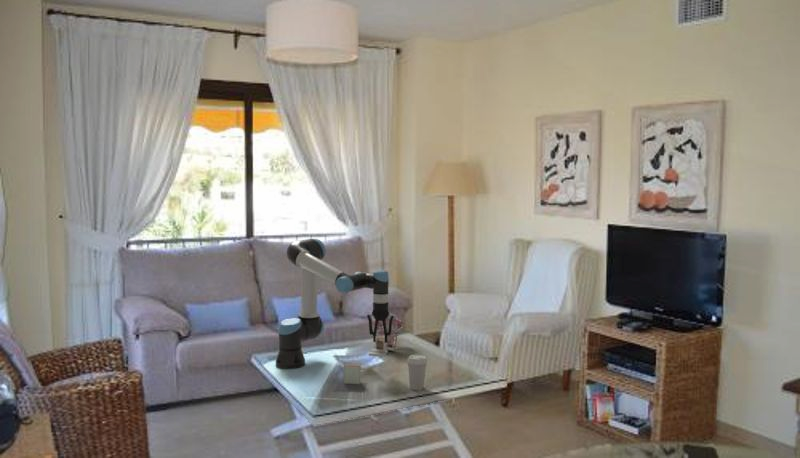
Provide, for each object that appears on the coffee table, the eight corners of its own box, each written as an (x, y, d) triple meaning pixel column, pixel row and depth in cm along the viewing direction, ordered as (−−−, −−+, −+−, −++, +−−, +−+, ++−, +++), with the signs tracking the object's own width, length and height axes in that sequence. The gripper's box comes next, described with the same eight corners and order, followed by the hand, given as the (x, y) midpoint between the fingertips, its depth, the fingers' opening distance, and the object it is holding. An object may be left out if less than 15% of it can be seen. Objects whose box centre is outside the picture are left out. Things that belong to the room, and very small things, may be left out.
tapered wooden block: (374, 345, 338) (374, 335, 337) (390, 345, 337) (390, 336, 336) (368, 355, 320) (368, 345, 319) (385, 356, 319) (385, 346, 318)
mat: (338, 382, 322) (338, 381, 322) (367, 383, 321) (367, 382, 321) (333, 392, 309) (333, 391, 309) (363, 393, 308) (363, 392, 308)
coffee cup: (409, 392, 310) (409, 360, 309) (404, 385, 319) (405, 354, 318) (429, 391, 312) (429, 359, 310) (424, 384, 321) (424, 353, 320)
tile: (344, 382, 321) (344, 364, 320) (360, 382, 321) (360, 364, 320) (343, 383, 319) (343, 365, 318) (360, 384, 318) (360, 366, 317)
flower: (421, 345, 382) (407, 303, 387) (400, 350, 362) (386, 306, 368) (393, 355, 391) (380, 314, 397) (371, 361, 372) (358, 318, 377)
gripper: (363, 302, 325) (362, 350, 328) (396, 304, 323) (395, 351, 326) (365, 299, 332) (365, 345, 335) (397, 300, 330) (397, 347, 333)
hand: (380, 348), depth 330 cm, fingers closed on tapered wooden block, 3 cm apart
